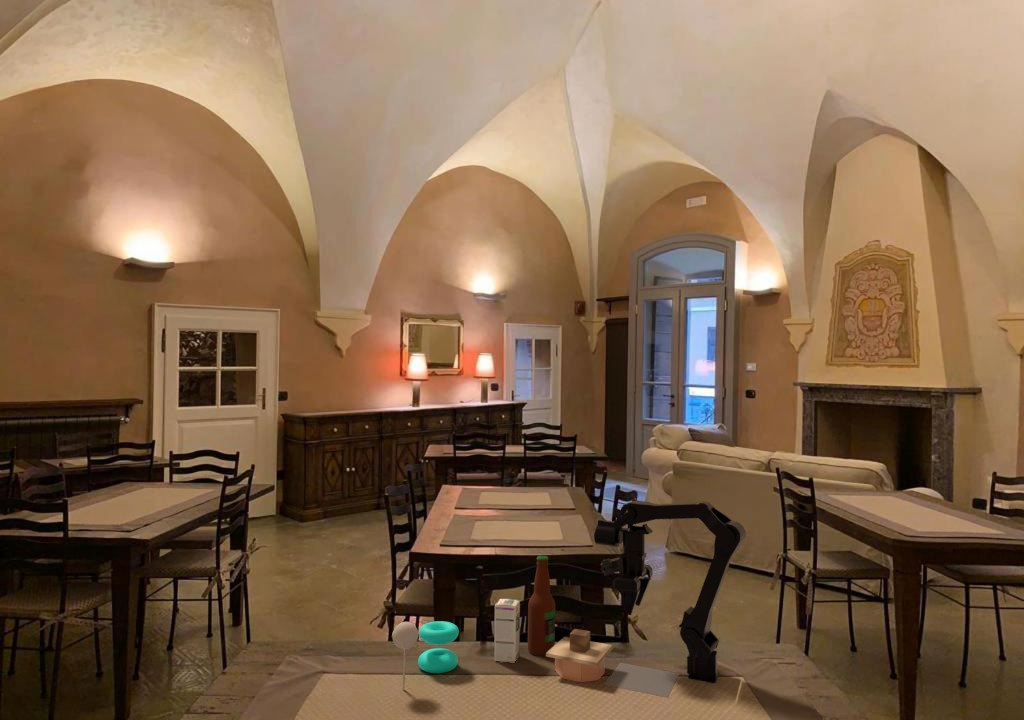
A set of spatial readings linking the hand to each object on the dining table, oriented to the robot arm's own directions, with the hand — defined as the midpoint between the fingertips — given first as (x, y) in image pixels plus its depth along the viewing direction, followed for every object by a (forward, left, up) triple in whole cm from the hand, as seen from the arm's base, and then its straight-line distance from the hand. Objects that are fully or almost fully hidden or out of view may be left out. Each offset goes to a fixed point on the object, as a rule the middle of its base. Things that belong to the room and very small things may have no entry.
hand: (633, 610), depth 166 cm
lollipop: (+43, +42, -13) cm, 61 cm away
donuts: (+43, +27, -13) cm, 52 cm away
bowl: (+10, +14, -13) cm, 22 cm away
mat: (-5, +11, -13) cm, 18 cm away
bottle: (+24, +5, -13) cm, 28 cm away
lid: (+10, +14, -8) cm, 19 cm away
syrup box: (+30, +14, -13) cm, 36 cm away
